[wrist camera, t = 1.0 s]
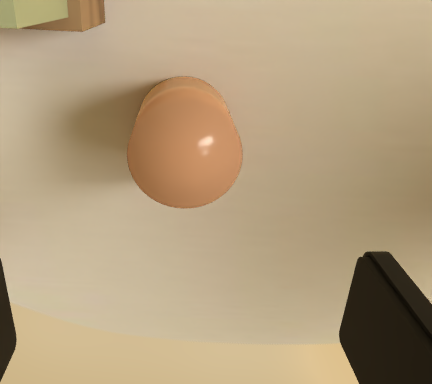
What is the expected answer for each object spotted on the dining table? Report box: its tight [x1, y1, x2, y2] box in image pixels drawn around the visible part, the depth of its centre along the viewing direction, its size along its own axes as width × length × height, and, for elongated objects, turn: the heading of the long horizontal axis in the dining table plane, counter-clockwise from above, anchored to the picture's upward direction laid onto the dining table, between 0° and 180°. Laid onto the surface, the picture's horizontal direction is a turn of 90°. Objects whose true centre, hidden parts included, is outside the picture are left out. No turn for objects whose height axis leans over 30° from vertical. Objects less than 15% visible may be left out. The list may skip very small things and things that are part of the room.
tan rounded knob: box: [127, 77, 242, 208], centre depth 23 cm, size 6×6×6 cm
